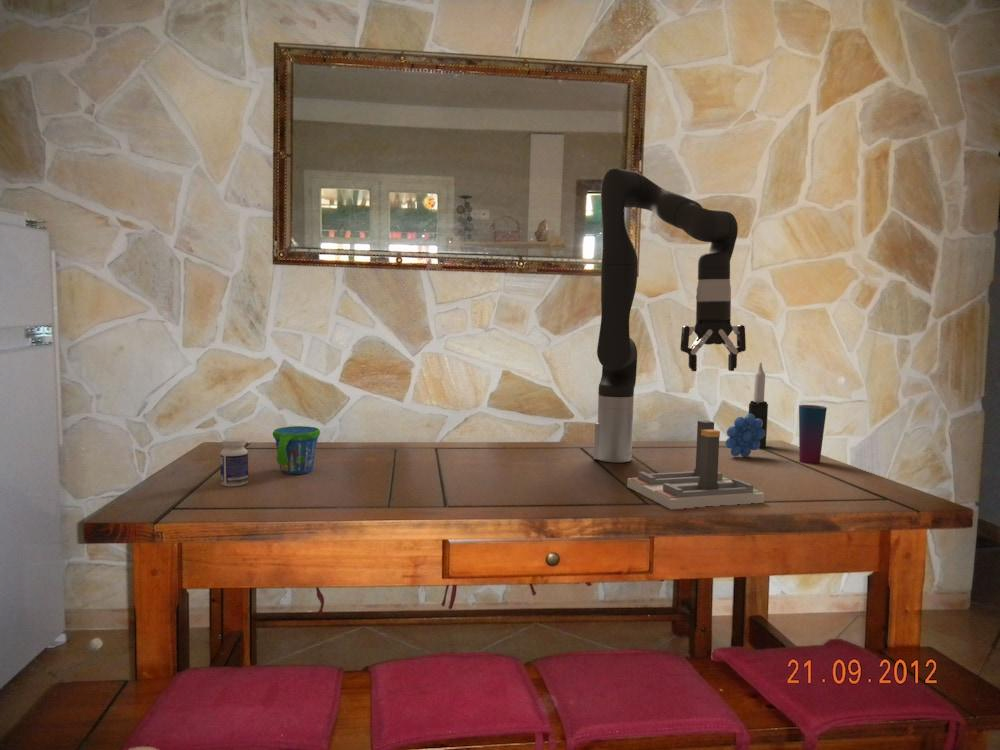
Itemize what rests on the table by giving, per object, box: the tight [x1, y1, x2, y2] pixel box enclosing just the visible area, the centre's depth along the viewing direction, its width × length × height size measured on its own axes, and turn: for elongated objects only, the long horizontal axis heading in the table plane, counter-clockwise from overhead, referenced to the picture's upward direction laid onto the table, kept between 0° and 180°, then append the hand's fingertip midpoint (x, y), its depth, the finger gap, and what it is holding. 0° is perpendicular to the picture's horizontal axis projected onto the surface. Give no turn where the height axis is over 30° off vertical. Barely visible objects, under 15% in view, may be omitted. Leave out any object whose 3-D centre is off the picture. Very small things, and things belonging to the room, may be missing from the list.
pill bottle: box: [219, 437, 249, 487], centre depth 159 cm, size 6×6×10 cm
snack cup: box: [272, 425, 321, 475], centre depth 172 cm, size 16×10×10 cm
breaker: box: [698, 429, 721, 490], centre depth 151 cm, size 3×3×13 cm
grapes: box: [724, 413, 765, 458], centre depth 200 cm, size 12×7×12 cm, turn 102°
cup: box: [798, 404, 828, 464], centre depth 194 cm, size 7×7×15 cm
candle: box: [748, 362, 769, 449], centre depth 215 cm, size 5×5×25 cm
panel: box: [627, 420, 765, 510], centre depth 157 cm, size 22×19×15 cm
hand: (712, 370), depth 166 cm, fingers open, 8 cm apart
